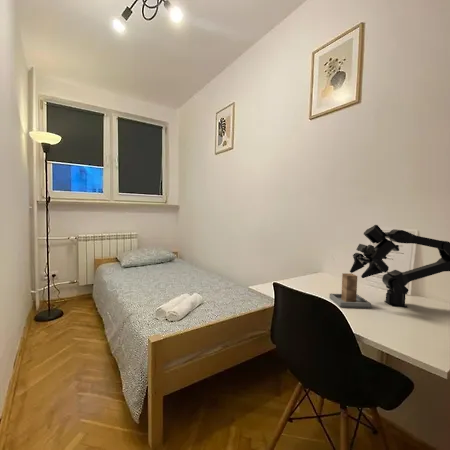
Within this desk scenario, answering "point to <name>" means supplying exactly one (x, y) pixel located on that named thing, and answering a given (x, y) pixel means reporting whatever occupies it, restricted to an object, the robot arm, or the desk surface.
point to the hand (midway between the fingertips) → (355, 274)
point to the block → (349, 287)
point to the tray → (358, 304)
